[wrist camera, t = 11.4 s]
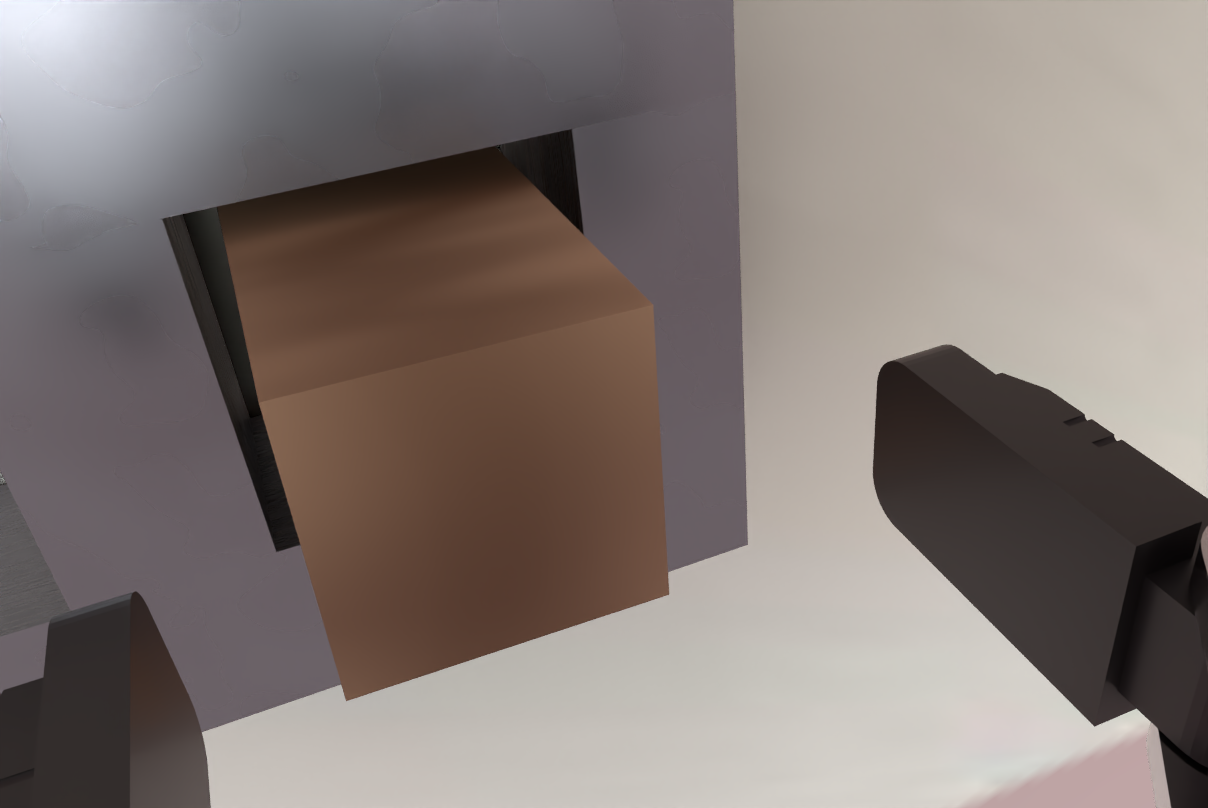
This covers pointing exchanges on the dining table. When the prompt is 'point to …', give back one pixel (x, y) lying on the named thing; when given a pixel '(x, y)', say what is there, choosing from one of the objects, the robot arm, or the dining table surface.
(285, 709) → the dining table surface
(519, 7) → the grey socket board
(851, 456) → the dining table surface
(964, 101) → the dining table surface
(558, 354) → the walnut peg
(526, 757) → the dining table surface
